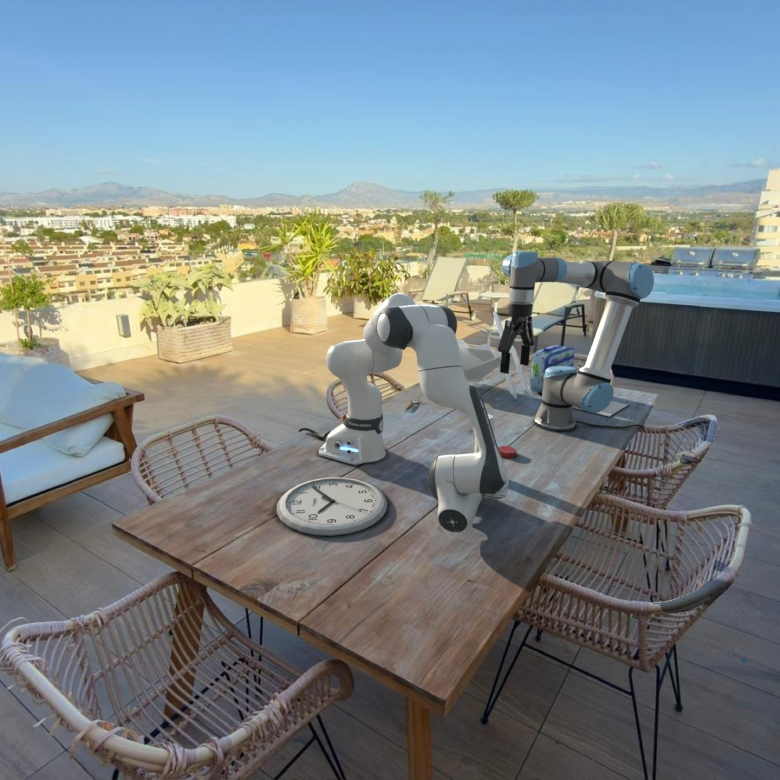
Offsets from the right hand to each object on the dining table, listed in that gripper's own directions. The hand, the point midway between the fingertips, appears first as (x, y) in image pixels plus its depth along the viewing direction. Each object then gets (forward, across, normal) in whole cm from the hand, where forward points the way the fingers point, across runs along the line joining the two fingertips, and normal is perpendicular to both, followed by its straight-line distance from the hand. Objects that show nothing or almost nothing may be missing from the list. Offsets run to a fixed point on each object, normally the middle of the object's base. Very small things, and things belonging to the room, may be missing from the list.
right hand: (514, 368), depth 168 cm
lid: (+28, 0, 0) cm, 29 cm away
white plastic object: (+30, -54, -43) cm, 75 cm away
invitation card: (+30, -72, +7) cm, 79 cm away
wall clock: (+30, +63, -19) cm, 73 cm away
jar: (+30, +19, +1) cm, 35 cm away
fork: (+30, -18, -54) cm, 65 cm away
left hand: (+23, +30, +5) cm, 38 cm away
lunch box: (+30, -80, -20) cm, 88 cm away
